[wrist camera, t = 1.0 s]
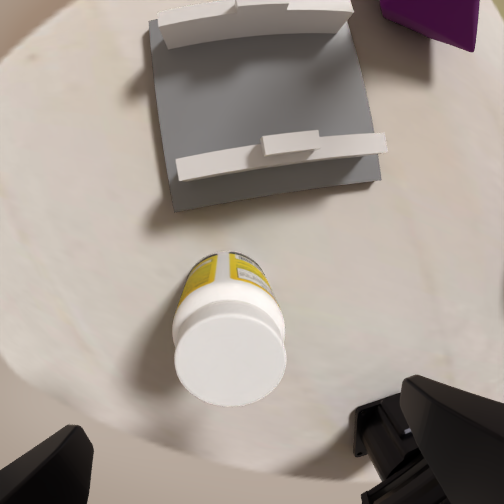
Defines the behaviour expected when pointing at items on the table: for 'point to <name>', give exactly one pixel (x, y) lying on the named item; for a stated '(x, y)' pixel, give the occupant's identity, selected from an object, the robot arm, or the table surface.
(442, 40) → the purple potion bottle
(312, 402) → the table surface
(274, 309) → the supplement bottle
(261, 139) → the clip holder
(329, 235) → the table surface
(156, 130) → the table surface
